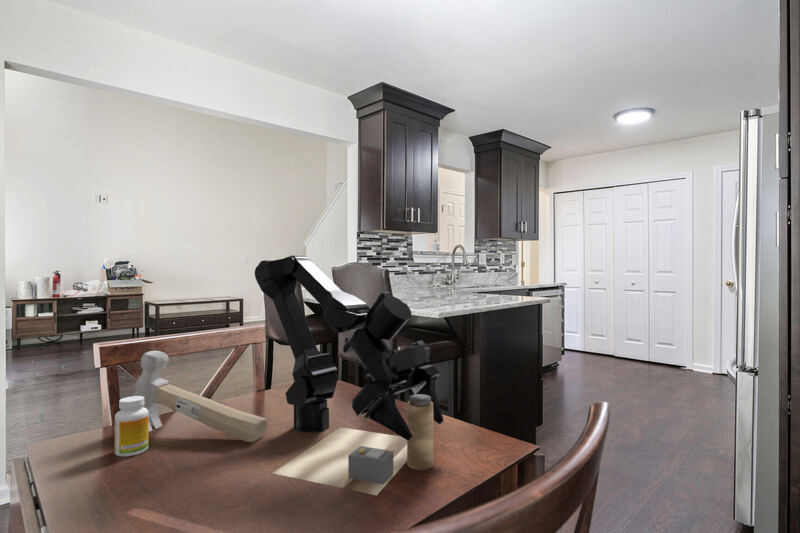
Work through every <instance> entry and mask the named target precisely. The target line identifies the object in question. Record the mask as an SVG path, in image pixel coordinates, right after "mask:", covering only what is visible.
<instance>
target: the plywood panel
mask: <svg viewBox="0 0 800 533" xmlns="http://www.w3.org/2000/svg"><path fill="white" fill-rule="evenodd" d="M359 446H364V447H370V448H377V449H383V450H388V451H393V474H392V475H391V476H390V478H389V479H388V480H387V481H386V482H385V483H384V484H378V483H373V482H368V481H363V480H358V479H353V478H348V455H349V454H351V453H352V452H353V451H354V450H356V449H357V448H358V447H359ZM405 464H407V440H406V439H404V438H403V437H401V436H399V435H392V434H388V433H387V434H385V433H380V432H374V431H373V432H372V431H366V430H360V429H354V428H347V427H340V426H339V427H338V428H337V429H336V430H334V431H333V432H332V433H330V434H329V435H327V436H326V437H324V438H322V439H321V440H319V441H318V442H317V443H315V444H314V445H312V446H311V447H309V448H308V449H306V450H305V451H303V452H302V453H299V455H297V456H296V457H294V458H293V459H292V460H290V461H288V462H287V463H285V464H284V465H282V466H281V467H279V468H278V469H276V470H275V471H273V472H272V475H278V476H282V477H288V478H293V479H296V480H302V481H306V482H311V483H317V484H321V485H326V486H330V487H335V488H338V489H339V488H340V489H344V490H347V491H355V492H359V493H363V494H368V495H372V496H378V495H379V493H380V492H381V491H382V490H383V489H384V488H385V486H387V484H388V483H389V482H390V481H391V480H392V478H394V477H395V475H396V474H398V472H399V471H400V470H401V469H402V467H403V466H404V465H405Z"/></svg>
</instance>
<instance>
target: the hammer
mask: <svg viewBox="0 0 800 533" xmlns="http://www.w3.org/2000/svg"><path fill="white" fill-rule="evenodd" d="M169 362H170V359H169V355H168V354H167V353H166V352H163V351H160V350H149V351H147V352H144V353H143V354H142V356H141V359H140V364H141V369H142V372H141V375H140V376H138V378H137V379H136V382H135V383H136V384H135V387H134V391H133V392H134V393H133V396H143V397H144V405H143V407H144V408H146V409H147V410H148V414H149V418H148V428H149V429H148V431H149V432H152V431H153V428H154V429H155V430H156V429H159V428H161V427H163V423H162V421H161V419H160V416H159V408H158V405H162V406H164V407H165V406H166V407H167V408H169V409H172V410H174V411H177V412H179V413H181V414H183V415H184V416H187V417H189V418H192V419H194V420H195V421H198V422H199V423H202V424H204V425H206V426H208V427H210V428H211V429H214V430H217V431H220V432H222V433H225V434H228V435H230V436H231V437H234V438H237V439H239V440H242V441H243V442H246V443H255V442H256V441H258V440H259V439H261V438H263V437H264V435H265V433H266V430H267V427H268V425H267V423H268V421H267V418H265V417H262V416H259V415H256V414H252V413H249V412H245V411H242V410H239V409H236V408H233V407H231V406H228V405H225V404H223V403H221V402H217V401H215V400H214V399H213V400H212V399H210V398H208V397H204V396H203V395H199V394H197V393H194V392H191V391H189V390H188V391H187V390H185V389H182V388H180V387H178V386H175V385H173V384H171V383H170V380H167V379H164V378H163V377H162V376H161V375H162V371H163V370H165V369H167V366H168V364H169Z"/></svg>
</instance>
